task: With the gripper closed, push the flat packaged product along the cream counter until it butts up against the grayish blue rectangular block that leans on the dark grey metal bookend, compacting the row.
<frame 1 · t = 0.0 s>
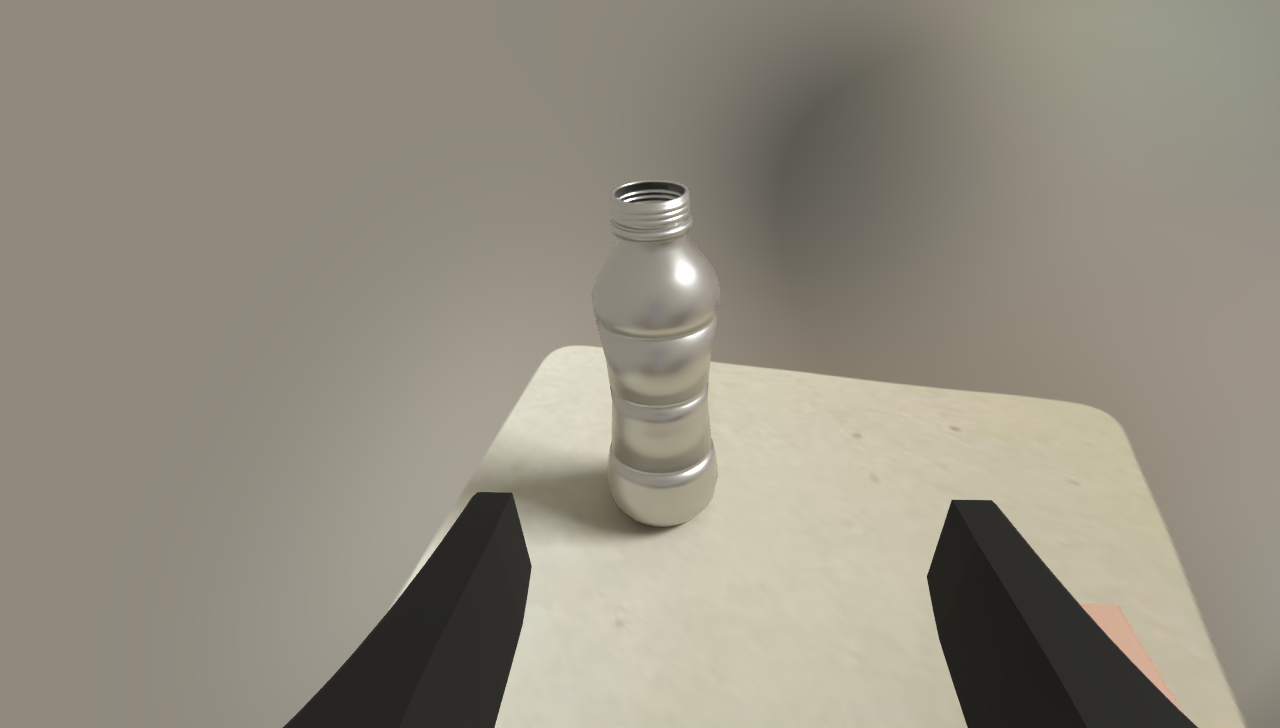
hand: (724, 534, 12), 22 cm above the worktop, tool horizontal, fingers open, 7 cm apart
plastic bottle: (664, 504, 43), on the worktop
lying book: (1089, 705, 31), on the worktop
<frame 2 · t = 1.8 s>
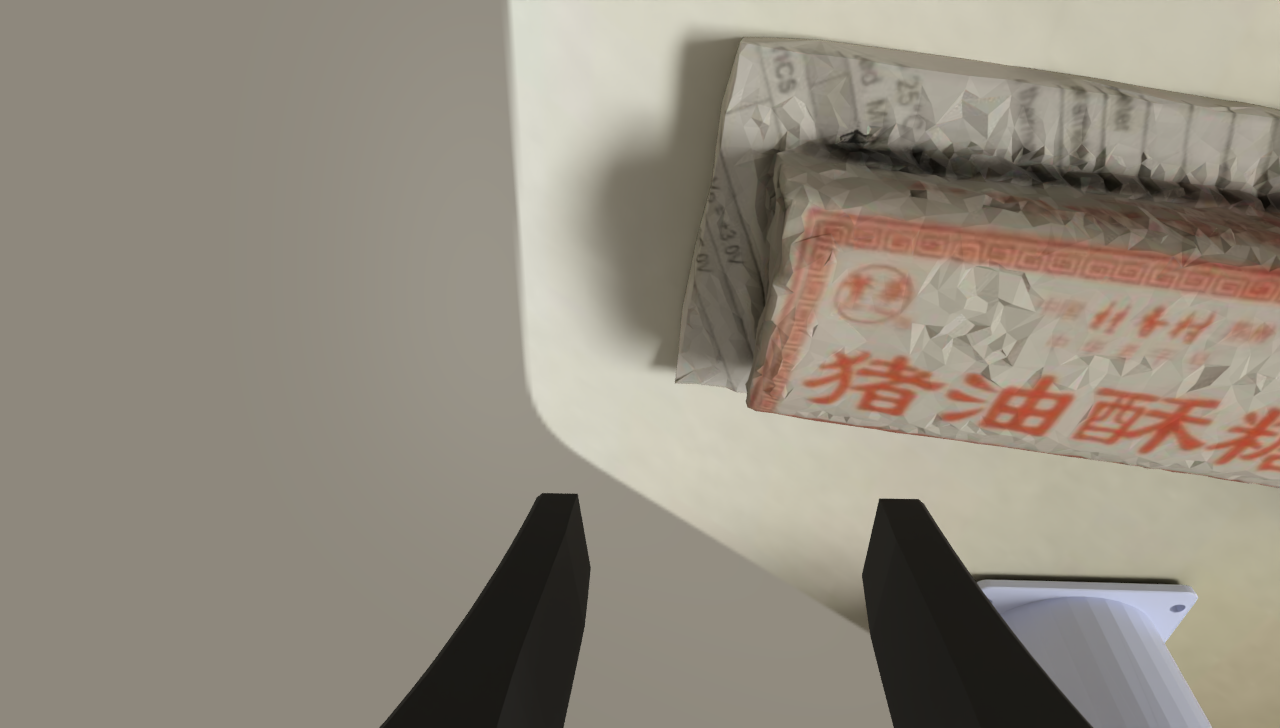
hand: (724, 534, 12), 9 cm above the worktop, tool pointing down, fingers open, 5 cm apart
packaged product: (1017, 258, 19), on the worktop
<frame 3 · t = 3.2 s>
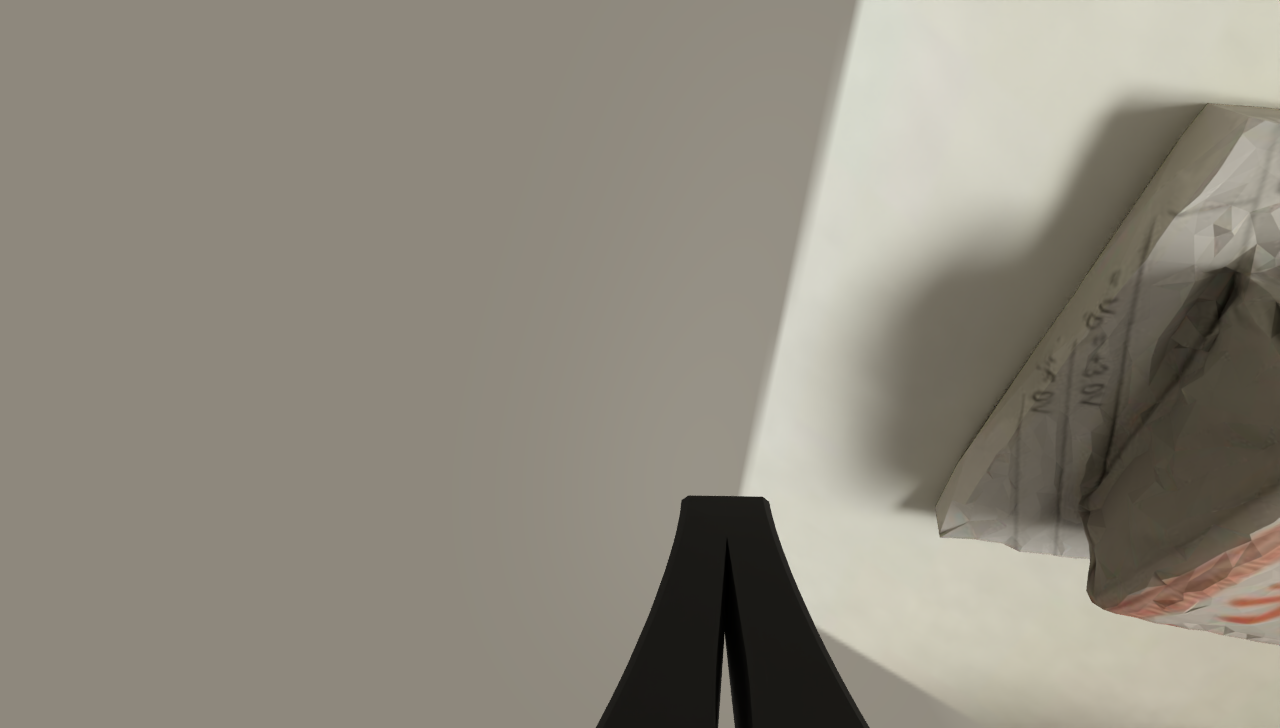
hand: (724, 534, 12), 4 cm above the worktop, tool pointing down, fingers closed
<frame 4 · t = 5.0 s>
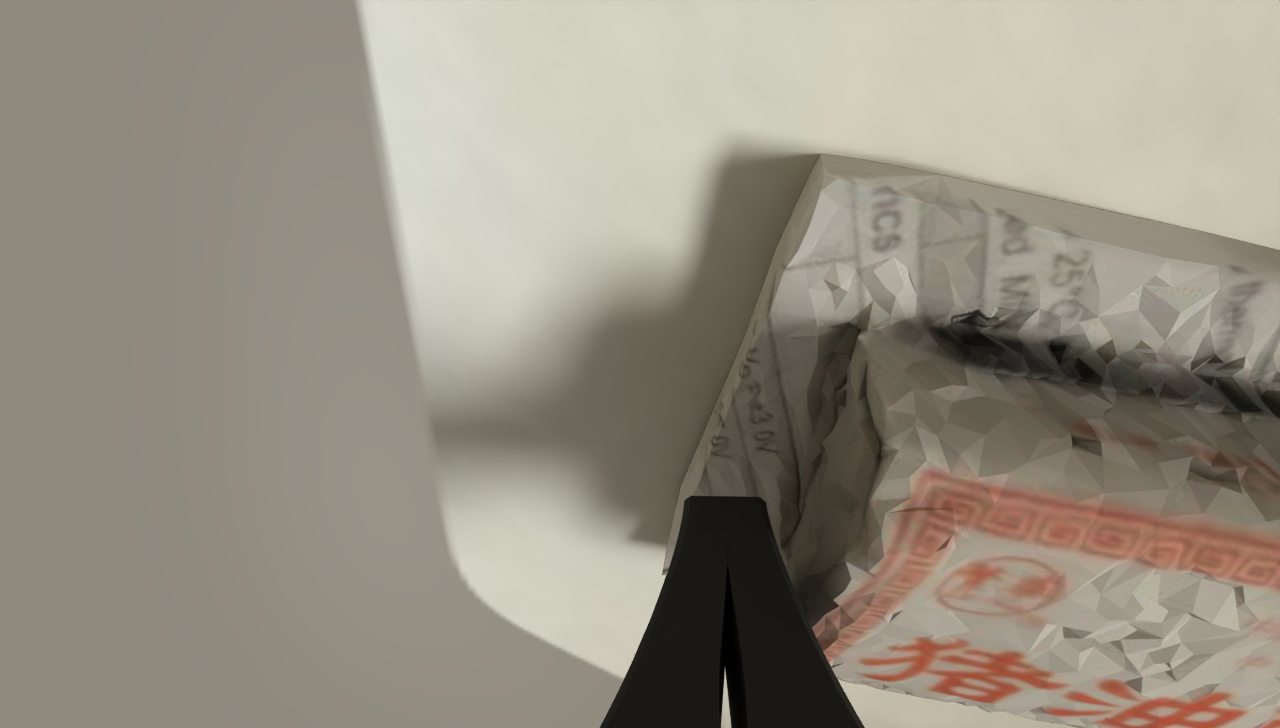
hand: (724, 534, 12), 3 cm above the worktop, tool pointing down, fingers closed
packaged product: (1137, 458, 14), on the worktop, touching gripper
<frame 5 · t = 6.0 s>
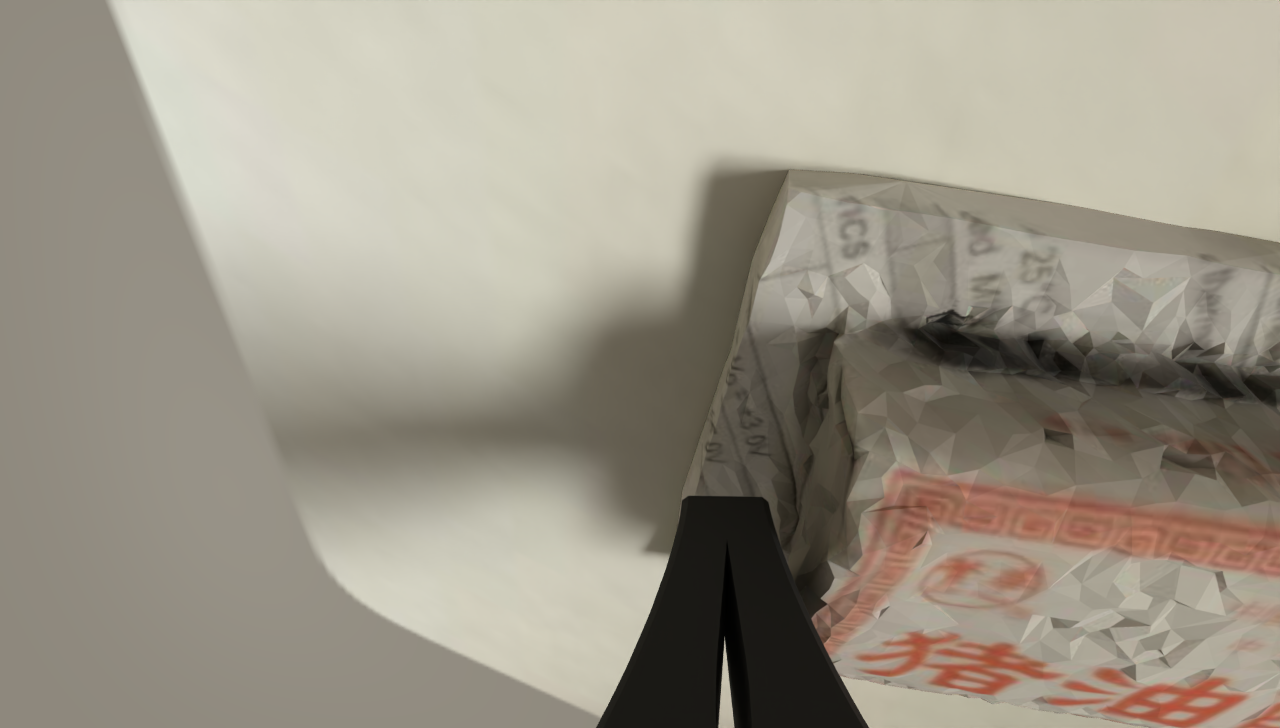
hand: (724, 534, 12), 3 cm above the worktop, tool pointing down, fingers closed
packaged product: (1135, 445, 14), on the worktop, touching gripper
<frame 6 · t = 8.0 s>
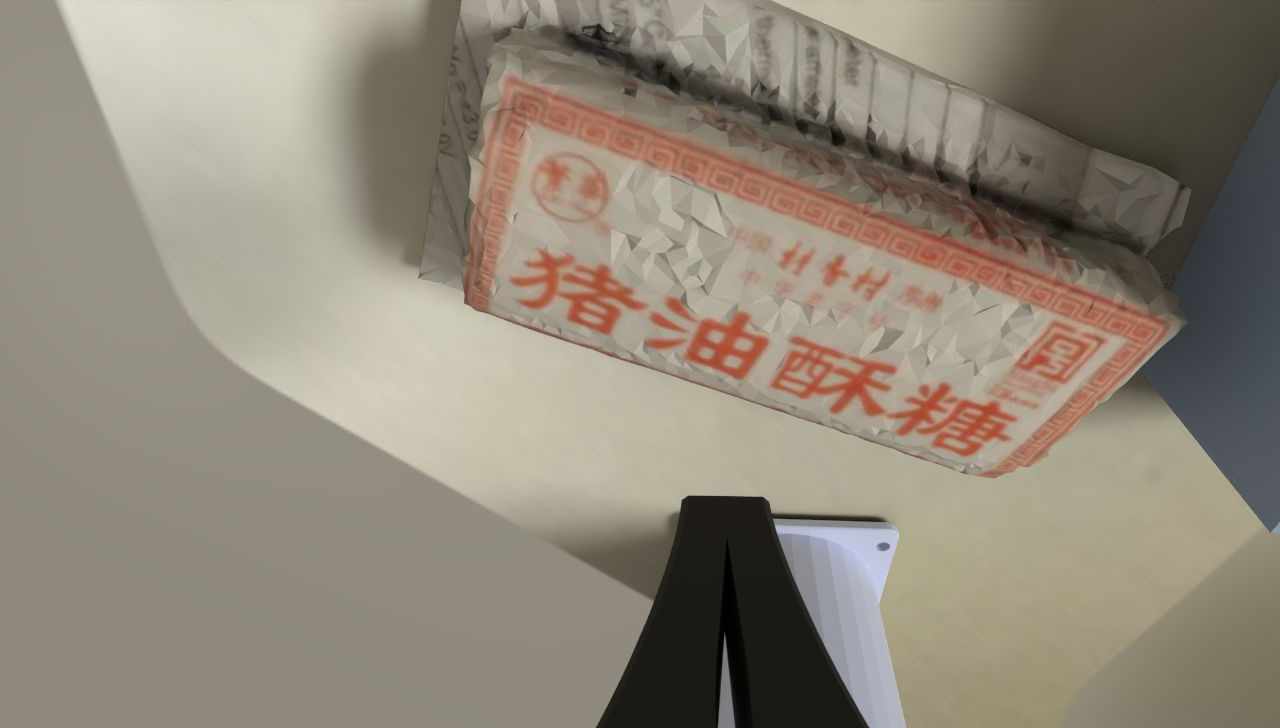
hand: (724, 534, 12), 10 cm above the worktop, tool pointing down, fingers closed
packaged product: (770, 213, 19), on the worktop
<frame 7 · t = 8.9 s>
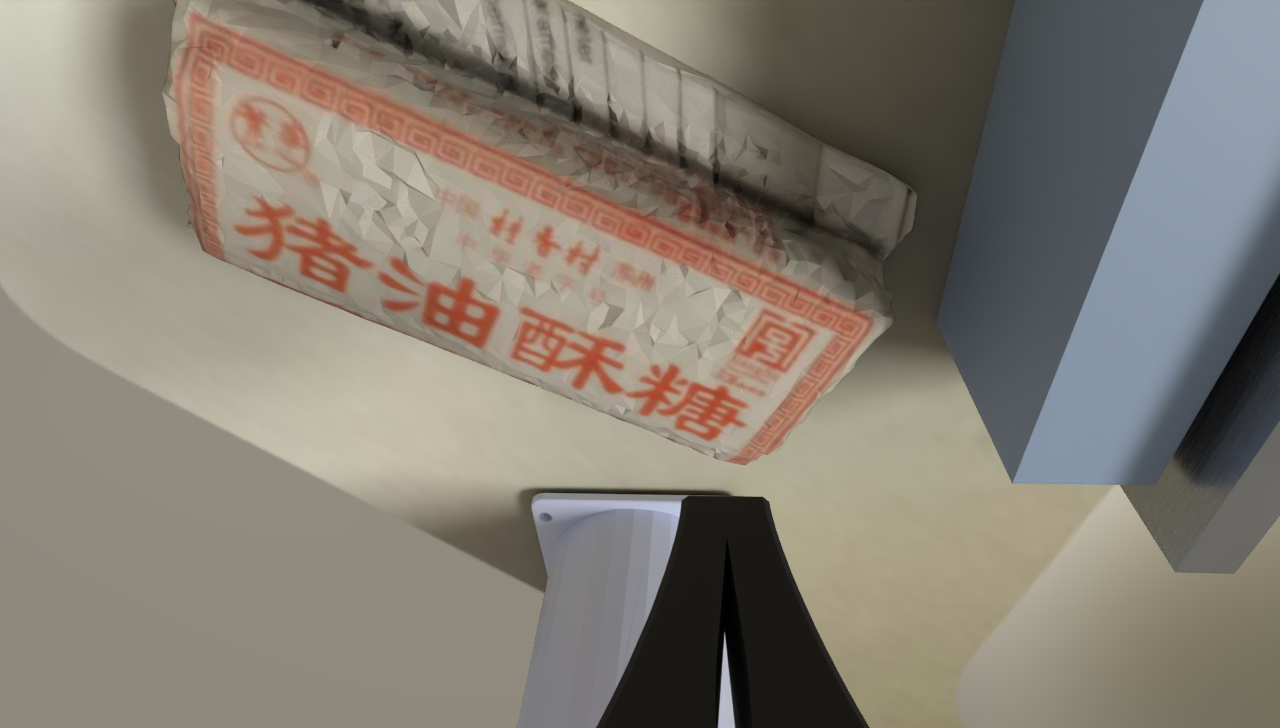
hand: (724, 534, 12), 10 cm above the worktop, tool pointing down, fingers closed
grayish blue rectangular block: (1048, 114, 17), on the worktop
bookend: (1162, 112, 16), on the worktop
packaged product: (546, 189, 19), on the worktop
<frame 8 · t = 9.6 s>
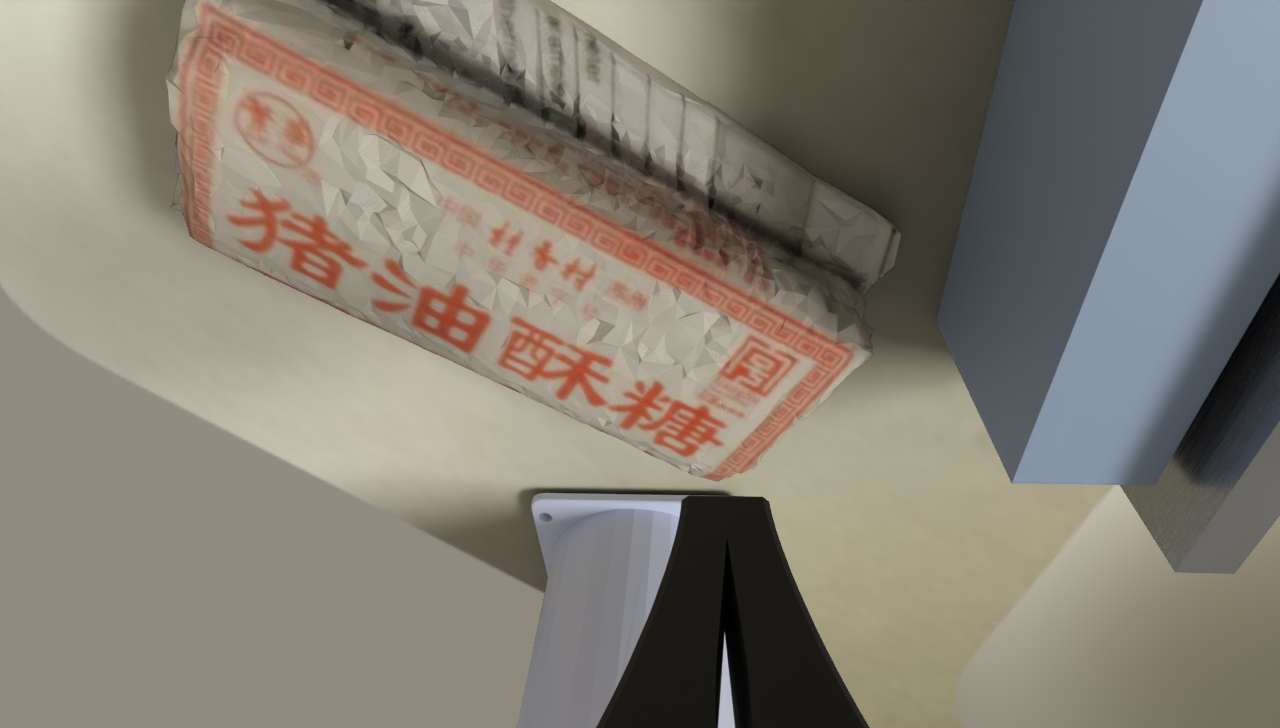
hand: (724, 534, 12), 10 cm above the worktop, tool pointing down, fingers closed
grayish blue rectangular block: (1048, 114, 17), on the worktop
bookend: (1162, 112, 16), on the worktop
packaged product: (541, 198, 20), on the worktop
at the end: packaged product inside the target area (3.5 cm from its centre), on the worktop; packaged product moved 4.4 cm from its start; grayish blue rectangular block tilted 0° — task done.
